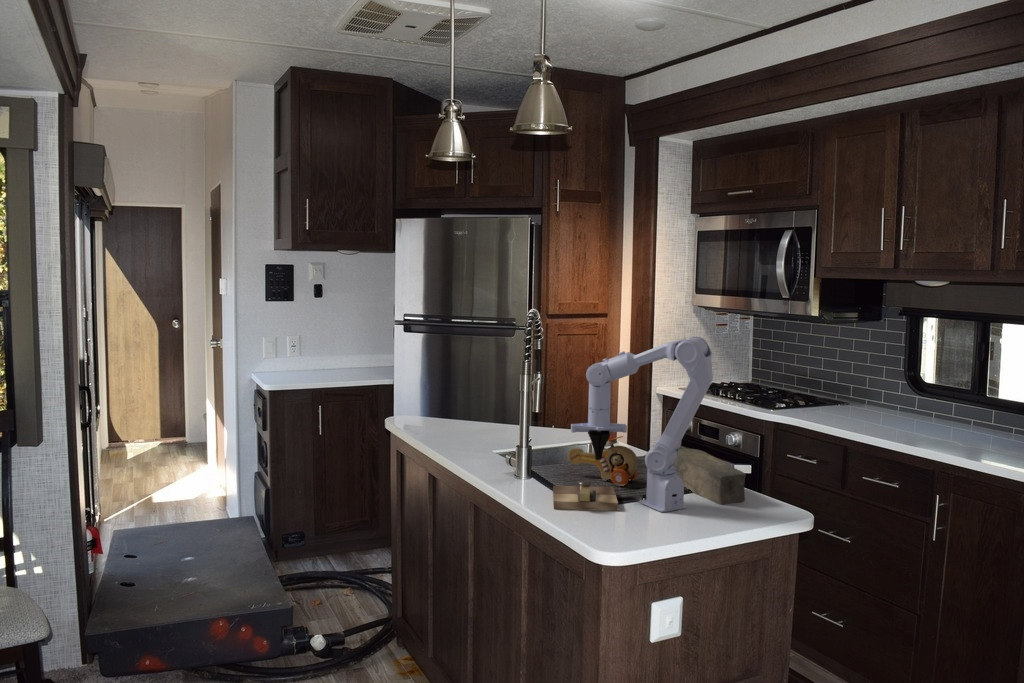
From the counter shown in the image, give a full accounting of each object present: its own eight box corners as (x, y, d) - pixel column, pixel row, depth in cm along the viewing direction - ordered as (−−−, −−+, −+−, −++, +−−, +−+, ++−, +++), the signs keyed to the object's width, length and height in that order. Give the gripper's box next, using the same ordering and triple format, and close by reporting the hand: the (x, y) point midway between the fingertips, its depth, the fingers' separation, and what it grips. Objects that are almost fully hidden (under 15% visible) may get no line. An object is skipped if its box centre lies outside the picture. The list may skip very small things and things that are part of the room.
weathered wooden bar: (688, 478, 240) (693, 445, 239) (748, 508, 216) (754, 471, 215) (659, 478, 235) (664, 444, 234) (716, 509, 212) (722, 471, 211)
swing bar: (578, 490, 215) (578, 480, 215) (590, 490, 215) (590, 480, 215) (578, 501, 206) (578, 490, 205) (591, 501, 205) (591, 491, 205)
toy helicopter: (630, 489, 225) (631, 439, 224) (562, 478, 236) (563, 430, 234) (641, 482, 233) (642, 434, 231) (574, 471, 243) (575, 425, 241)
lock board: (613, 494, 220) (613, 477, 220) (617, 510, 207) (618, 492, 206) (553, 492, 221) (553, 476, 221) (553, 509, 207) (554, 491, 207)
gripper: (573, 411, 212) (572, 462, 214) (629, 411, 213) (628, 462, 215) (570, 405, 219) (569, 456, 221) (624, 406, 220) (623, 455, 222)
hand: (598, 458), depth 218 cm, fingers closed
